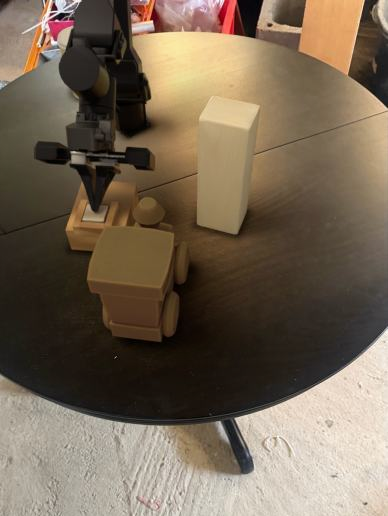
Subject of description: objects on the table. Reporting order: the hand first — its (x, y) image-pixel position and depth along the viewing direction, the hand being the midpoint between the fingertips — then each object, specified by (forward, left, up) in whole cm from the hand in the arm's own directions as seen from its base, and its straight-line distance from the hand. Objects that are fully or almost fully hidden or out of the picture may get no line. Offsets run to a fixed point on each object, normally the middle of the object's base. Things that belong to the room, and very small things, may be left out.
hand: (94, 211), depth 79 cm
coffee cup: (-24, -42, -7) cm, 49 cm away
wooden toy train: (+1, +16, -7) cm, 18 cm away
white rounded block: (0, 0, -2) cm, 2 cm away
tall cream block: (-21, +9, -7) cm, 24 cm away
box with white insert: (-3, -3, -7) cm, 8 cm away
